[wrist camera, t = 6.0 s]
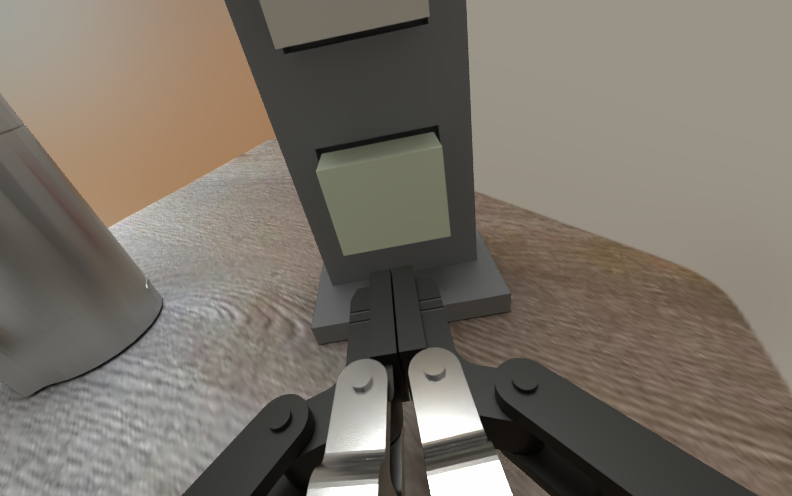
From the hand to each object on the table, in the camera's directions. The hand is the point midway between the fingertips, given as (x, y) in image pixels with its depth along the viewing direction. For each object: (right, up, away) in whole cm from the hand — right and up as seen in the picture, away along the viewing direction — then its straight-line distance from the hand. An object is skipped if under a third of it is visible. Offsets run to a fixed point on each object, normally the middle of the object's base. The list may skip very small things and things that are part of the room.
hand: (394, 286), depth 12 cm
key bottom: (0, +2, +7) cm, 8 cm away
